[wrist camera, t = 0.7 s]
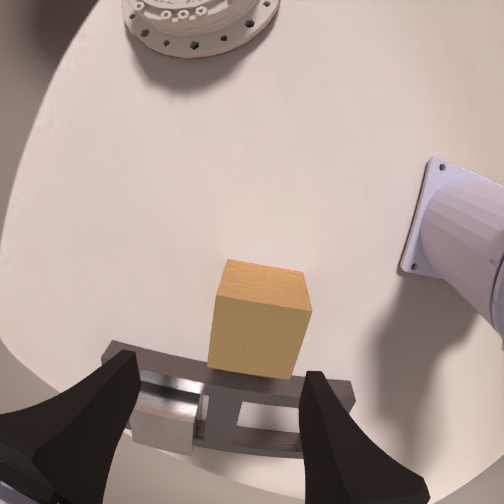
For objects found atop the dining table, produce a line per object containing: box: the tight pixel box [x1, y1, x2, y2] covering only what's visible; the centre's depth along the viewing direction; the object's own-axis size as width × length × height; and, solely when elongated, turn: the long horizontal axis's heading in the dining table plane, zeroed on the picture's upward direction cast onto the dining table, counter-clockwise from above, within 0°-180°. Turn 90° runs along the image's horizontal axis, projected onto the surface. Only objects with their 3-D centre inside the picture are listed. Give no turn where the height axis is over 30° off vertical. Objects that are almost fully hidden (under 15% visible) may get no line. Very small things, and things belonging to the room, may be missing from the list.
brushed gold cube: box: [207, 259, 312, 380], centre depth 19 cm, size 5×5×5 cm
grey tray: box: [101, 340, 356, 459], centre depth 24 cm, size 20×9×2 cm, turn 80°
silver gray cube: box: [129, 380, 202, 456], centre depth 23 cm, size 5×5×5 cm
